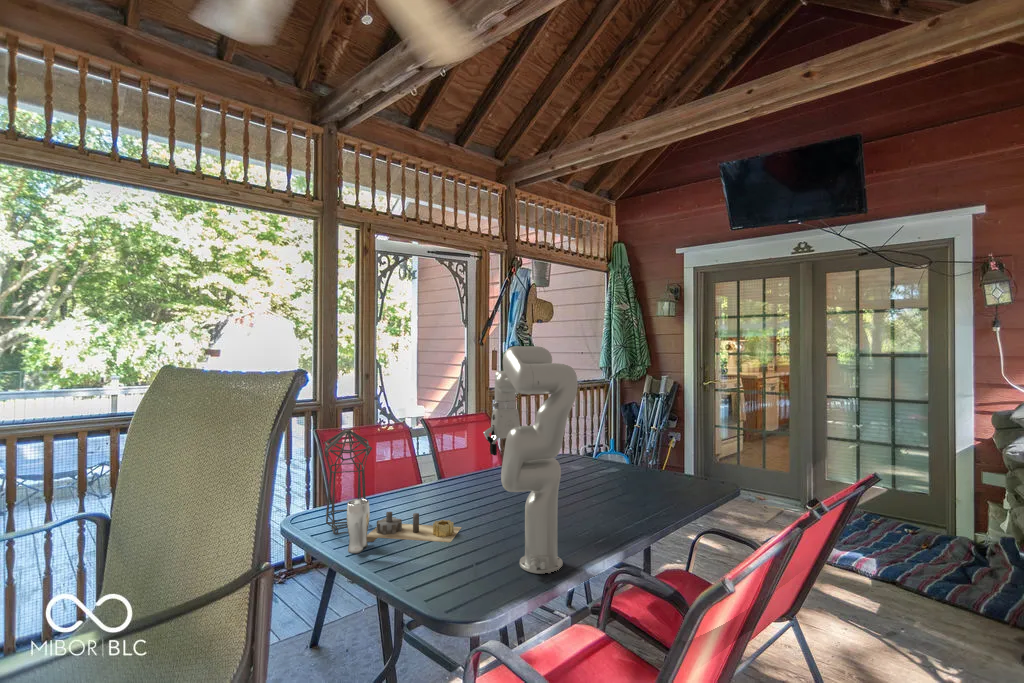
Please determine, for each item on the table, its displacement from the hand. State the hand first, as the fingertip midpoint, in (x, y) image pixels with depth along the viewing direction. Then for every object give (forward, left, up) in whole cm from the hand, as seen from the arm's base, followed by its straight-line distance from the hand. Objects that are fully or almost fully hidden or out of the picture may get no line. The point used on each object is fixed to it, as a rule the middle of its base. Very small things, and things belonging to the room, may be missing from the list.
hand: (505, 453), depth 185 cm
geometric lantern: (-13, +54, -26) cm, 61 cm away
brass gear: (-15, +18, -24) cm, 34 cm away
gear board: (-15, +28, -26) cm, 41 cm away
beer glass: (-29, +42, -26) cm, 57 cm away
